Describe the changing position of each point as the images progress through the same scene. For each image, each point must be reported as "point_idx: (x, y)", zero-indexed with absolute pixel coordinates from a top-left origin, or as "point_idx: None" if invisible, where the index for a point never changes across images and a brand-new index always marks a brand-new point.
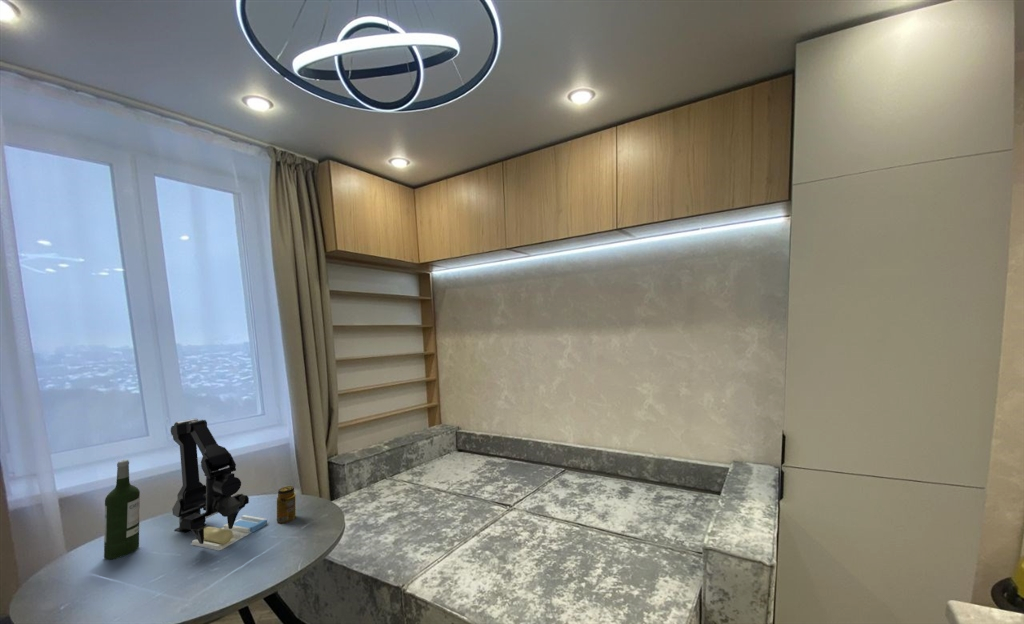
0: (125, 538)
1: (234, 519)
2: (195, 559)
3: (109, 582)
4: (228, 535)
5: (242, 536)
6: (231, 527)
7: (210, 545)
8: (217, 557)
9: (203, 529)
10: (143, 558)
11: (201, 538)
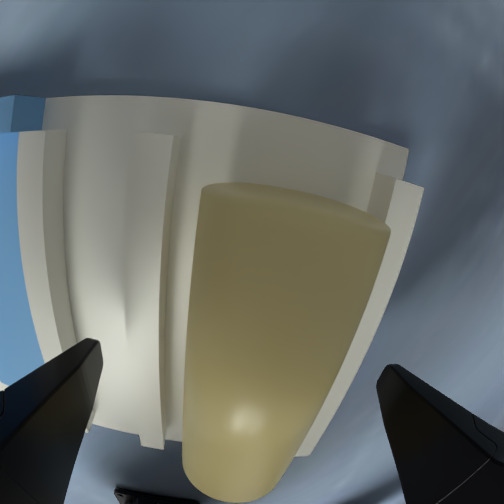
0: None
1: (24, 391)
2: (468, 263)
3: (490, 417)
4: (272, 202)
5: (130, 119)
6: (90, 345)
7: (387, 290)
8: (462, 100)
9: (494, 455)
10: (380, 474)
11: (442, 395)
